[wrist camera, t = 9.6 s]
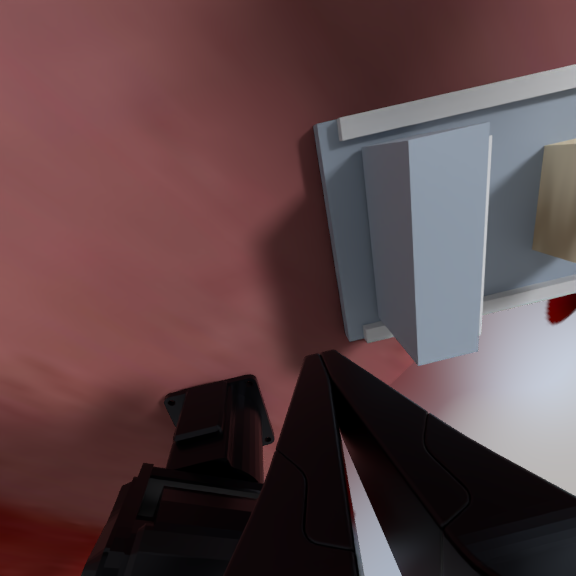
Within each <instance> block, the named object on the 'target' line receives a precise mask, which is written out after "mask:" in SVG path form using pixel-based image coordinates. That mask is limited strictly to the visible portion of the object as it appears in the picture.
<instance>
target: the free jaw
mask: <svg viewBox="0 0 576 576" xmlns="http://www.w3.org/2000/svg"><path fill="white" fill-rule="evenodd" d="M489 131H490V122H486V123H480V124H474V125H469V126H463V127H457V128H452V129H446V130H440V131H435V132H429V133H423V134H418V135H414V136H409V137H405V138H400V139H396V140H392V141H387V142H383V143H379V144H374V145H370V146H365V147H361V148H362V158H363V168H364V178H365V188H366V198H367V208H368V217H369V227H370V237H371V247H372V257H373V267H374V277H375V287H376V297H377V307H378V316H379V319H380V320H381V321H382V322H383V323H384V325H385V326H386V327H387V328H388V330H389V331H390V332H391V333H392V334H393V336H394V337H395V338H396V339H397V340H398V342H399V343H400V344H401V345H402V347H403V348H404V349H405V350H406V351H407V353H408V354H409V355H410V356H411V358H412V359H413V360H414V361H415V362H416V364H417V365H418V366H420V365H424V364H428V363H432V362H436V361H440V360H444V359H448V358H453V357H457V356H461V355H465V354H469V353H473V352H477V351H478V342H479V335H481V330H482V312H483V295H484V277H485V259H486V241H487V223H488V205H489V187H490V169H491V151H492V135H490V136H489Z"/></svg>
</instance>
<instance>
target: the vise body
mask: <svg viewBox="0 0 576 576" xmlns="http://www.w3.org/2000/svg"><path fill="white" fill-rule="evenodd" d="M486 122H490V131H489V136H490V135H492V151H491V169H490V187H489V205H488V223H487V241H486V259H485V277H484V295H483V312H482V315H486V314H490V313H494V312H499V311H503V310H507V309H511V308H515V307H519V306H523V305H528V304H532V303H536V302H540V301H544V300H548V299H552V298H557V297H561V296H565V295H569V294H573V293H576V263H574V262H570V261H567V260H564V259H561V258H557V257H554V256H551V255H548V254H544V253H541V252H538V251H535V250H532V245H533V237H534V229H535V220H536V212H537V204H538V195H539V187H540V179H541V170H542V162H543V154H544V146H545V145H550V144H554V143H558V142H563V141H567V140H572V139H576V64H575V65H571V66H566V67H562V68H557V69H553V70H548V71H544V72H540V73H535V74H531V75H526V76H522V77H517V78H513V79H509V80H504V81H500V82H495V83H491V84H487V85H482V86H478V87H473V88H469V89H464V90H460V91H456V92H451V93H447V94H442V95H438V96H433V97H429V98H425V99H420V100H416V101H411V102H407V103H403V104H398V105H394V106H389V107H385V108H380V109H376V110H372V111H367V112H363V113H358V114H354V115H349V116H345V117H341V118H338V119H336V120H332V121H327V122H323V123H318V124H316V125H314V126H313V129H314V135H315V142H316V148H317V155H318V161H319V167H320V174H321V180H322V187H323V193H324V200H325V206H326V213H327V219H328V225H329V232H330V238H331V245H332V251H333V258H334V264H335V271H336V277H337V283H338V290H339V296H340V303H341V309H342V316H343V322H344V329H345V334H346V336H347V338H348V340H349V342H351V341H355V340H359V339H363V338H364V339H365V340H366V342H367V343H370V342H374V341H379V340H383V339H387V338H391V337H394V336H393V334H392V333H391V332H390V331H389V330H388V328H387V327H386V326H385V325H384V323H383V322H382V321H381V320H380V319H379V316H378V307H377V297H376V287H375V277H374V267H373V257H372V247H371V237H370V227H369V217H368V208H367V198H366V188H365V178H364V168H363V158H362V148H361V147H365V146H370V145H374V144H379V143H383V142H387V141H392V140H396V139H400V138H405V137H409V136H414V135H418V134H423V133H429V132H435V131H440V130H446V129H452V128H457V127H463V126H469V125H474V124H480V123H486Z"/></svg>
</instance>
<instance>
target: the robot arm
mask: <svg viewBox="0 0 576 576" xmlns="http://www.w3.org/2000/svg"><path fill="white" fill-rule="evenodd" d="M248 381H252V383H247V382H248ZM170 400H174V402H172V401H170ZM164 404H165V407H166V409H167V411H168V413H169V415H170V417H171V419H172V421H173V423H174V425H175V427H176V430H175V433H174V437H173V440H174V441H173V444H172V448H171V451H170V455H169V458H168V462H167V465H166V468H160V467H153V466H154V464H147V463H143V466H142V468H141V471H140V473H139V476H138V477H134V478H133V480H132V482H130V483H128V484H125V485H123V486H122V487H121V490H120V492H119V495H118V497H117V500H116V502H115V505H114V507H113V510H112V512H111V514H110V517H109V519H108V521H107V523H106V525H105V527H104V529H103V531H102V533H101V535H100V537H99V539H98V541H97V543H96V545H95V547H94V548H93V550H92V552H91V554H90V556H89V558H88V560H87V562H86V564H85V567H84V569H83V572H82V575H81V576H364V572H363V566H362V560H361V554H360V548H359V542H358V536H357V530H356V524H355V518H354V512H353V506H352V500H351V494H350V488H349V482H348V476H347V470H346V464H345V458H344V452H343V446H342V440H341V435H342V438H343V440H344V443H345V445H346V447H347V449H348V452H349V454H350V456H351V459H352V461H353V463H354V466H355V468H356V470H357V473H358V475H359V477H360V480H361V482H362V484H363V486H364V489H365V491H366V493H367V496H368V498H369V500H370V503H371V505H372V507H373V509H374V512H375V514H376V517H377V519H378V521H379V523H380V526H381V528H382V530H383V532H384V535H385V537H386V540H387V541H388V544H389V546H390V549H391V551H392V553H393V556H394V558H395V560H396V563H397V565H398V567H399V570H400V572H401V574H402V576H576V496H574V495H572V494H570V493H568V492H567V491H565V490H563V489H561V488H559V487H557V486H556V485H554V484H552V483H550V482H548V481H546V480H545V479H543V478H541V477H539V476H537V475H535V474H533V473H532V472H530V471H528V470H526V469H524V468H522V467H521V466H519V465H517V464H515V463H513V462H511V461H510V460H508V459H506V458H504V457H502V456H500V455H498V454H497V453H495V452H493V451H491V450H490V449H488V448H486V447H484V446H483V445H481V444H479V443H477V442H476V441H474V440H472V439H470V438H468V437H467V436H465V435H464V434H462V433H460V432H459V431H457V430H455V429H454V428H452V427H451V426H449V425H448V424H446V423H444V422H443V421H441V420H440V419H438V418H437V417H435V416H434V415H432V414H431V413H429V414H428V412H427V411H426V410H425V409H423V408H421V407H420V406H419V405H417V404H416V403H414V402H413V401H411V400H410V399H408V398H407V397H405V396H403V395H402V394H400V393H399V392H397V391H396V390H394V389H393V388H391V387H390V386H388V385H387V384H385V383H384V382H382V381H381V380H379V379H378V378H376V377H375V376H373V375H372V374H370V373H369V372H367V371H366V370H364V369H363V368H361V367H360V366H358V365H357V364H355V363H354V362H352V361H351V360H349V359H348V358H346V357H345V356H343V355H342V354H340V353H339V352H337V351H336V350H329V351H325V352H322V353H321V354H318V353H317V354H313V355H308V356H306V357H305V358H304V361H303V365H302V368H301V371H300V374H299V377H298V380H297V383H296V387H295V390H294V393H293V396H292V399H291V402H290V405H289V409H288V412H287V415H286V418H285V421H284V424H283V428H282V431H281V434H280V437H279V440H278V443H277V446H276V451H275V452H274V455H273V458H272V462H271V465H270V468H269V471H268V473H267V476H266V479H265V482H264V472H263V446H264V445H268V444H271V443H273V442H274V432H273V429H272V426H271V423H270V420H269V417H268V413H267V410H266V407H265V404H264V401H263V397H262V394H261V391H260V388H259V385H258V382H257V378H256V377H255V376H254V375H251V374H250V375H244V376H240V377H236V378H232V379H228V380H224V381H219V382H214V383H210V384H206V385H202V386H198V387H194V388H190V389H186V390H182V391H178V392H174V393H170V394H168V395H167V396H166V398H165V401H164ZM340 432H341V435H340ZM267 437H269V438H267Z"/></svg>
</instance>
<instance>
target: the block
mask: <svg viewBox="0 0 576 576" xmlns="http://www.w3.org/2000/svg"><path fill="white" fill-rule="evenodd" d="M532 250H535V251H538V252H541V253H544V254H548V255H551V256H554V257H557V258H561V259H564V260H567V261H570V262H574V263H576V139H572V140H567V141H563V142H558V143H554V144H550V145H545V146H544V154H543V162H542V170H541V179H540V187H539V195H538V204H537V212H536V220H535V229H534V237H533V245H532Z"/></svg>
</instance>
